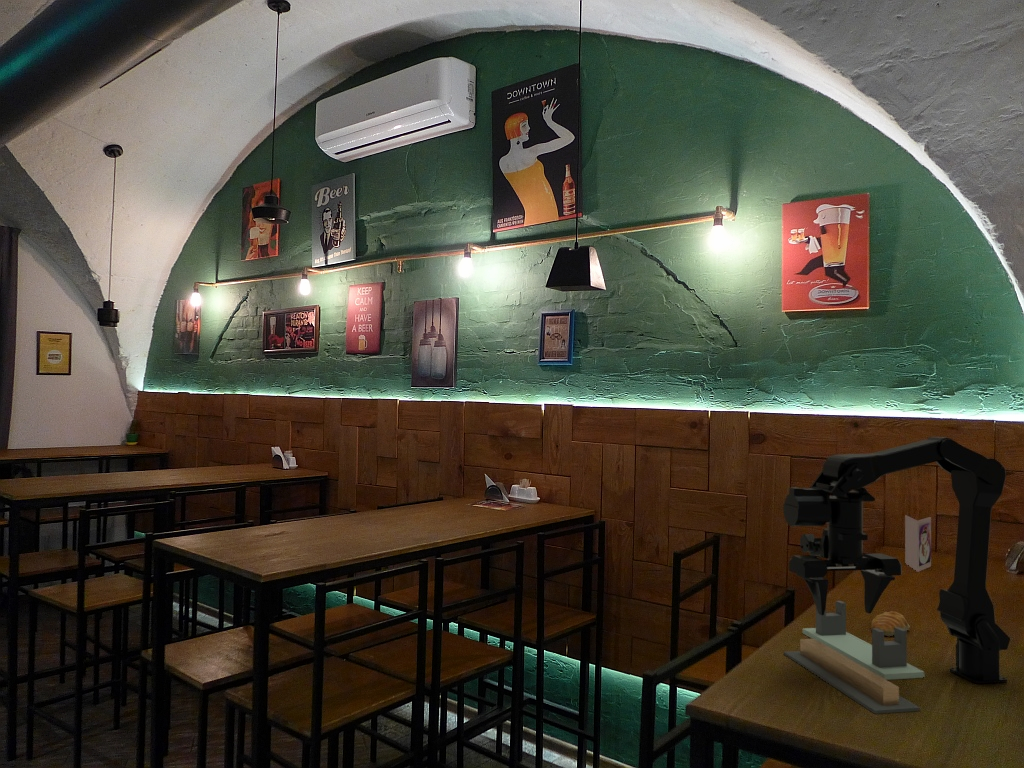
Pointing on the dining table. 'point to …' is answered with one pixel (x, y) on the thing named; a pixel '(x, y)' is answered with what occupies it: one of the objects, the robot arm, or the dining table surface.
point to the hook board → (865, 646)
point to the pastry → (889, 622)
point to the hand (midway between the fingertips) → (844, 613)
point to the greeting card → (918, 543)
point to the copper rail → (850, 672)
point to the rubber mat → (851, 688)
